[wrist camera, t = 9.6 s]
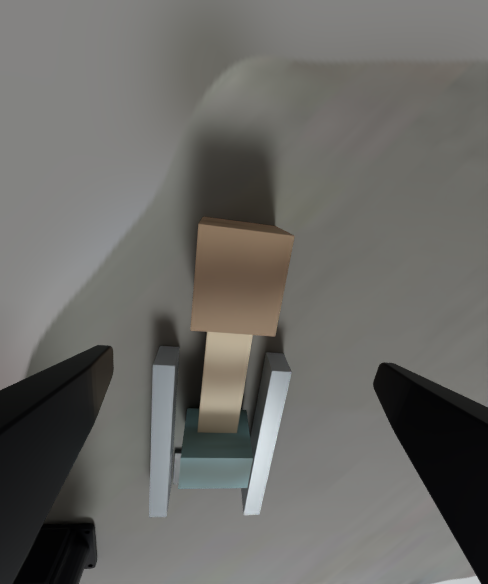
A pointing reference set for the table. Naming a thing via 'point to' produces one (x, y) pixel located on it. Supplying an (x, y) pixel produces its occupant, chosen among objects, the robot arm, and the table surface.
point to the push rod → (219, 419)
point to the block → (239, 277)
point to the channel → (261, 437)
